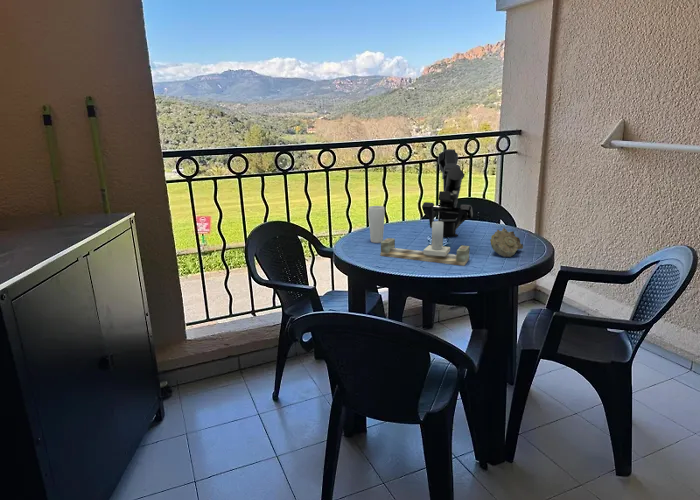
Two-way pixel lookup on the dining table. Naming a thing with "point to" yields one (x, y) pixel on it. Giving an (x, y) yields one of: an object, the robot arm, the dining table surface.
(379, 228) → the drinking glass
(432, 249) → the carriage
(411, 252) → the wooden slide rail
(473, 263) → the dining table surface
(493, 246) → the seashell
